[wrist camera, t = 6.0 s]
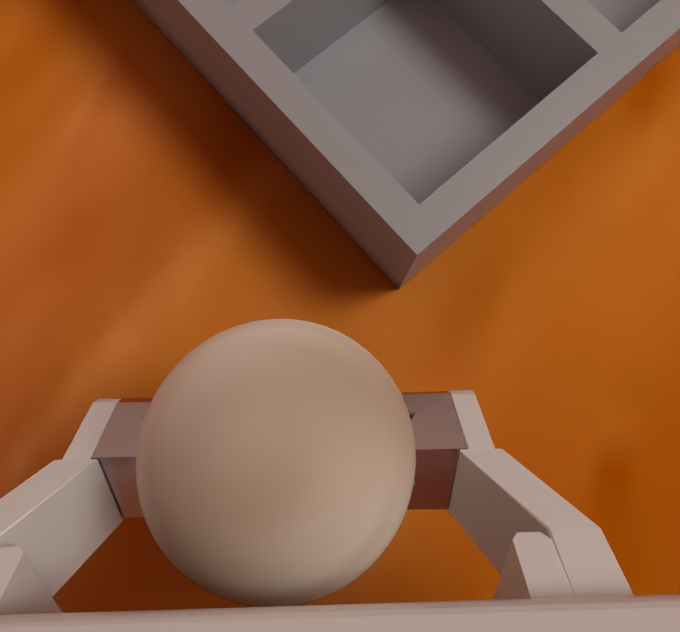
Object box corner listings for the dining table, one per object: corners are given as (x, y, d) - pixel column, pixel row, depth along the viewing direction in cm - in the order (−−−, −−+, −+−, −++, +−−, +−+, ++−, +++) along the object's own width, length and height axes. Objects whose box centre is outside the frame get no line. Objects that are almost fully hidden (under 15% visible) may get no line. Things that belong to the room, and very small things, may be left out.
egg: (197, 426, 16) (5, 451, 7) (311, 328, 17) (283, 224, 7) (295, 547, 15) (235, 762, 6) (410, 440, 16) (517, 483, 7)
